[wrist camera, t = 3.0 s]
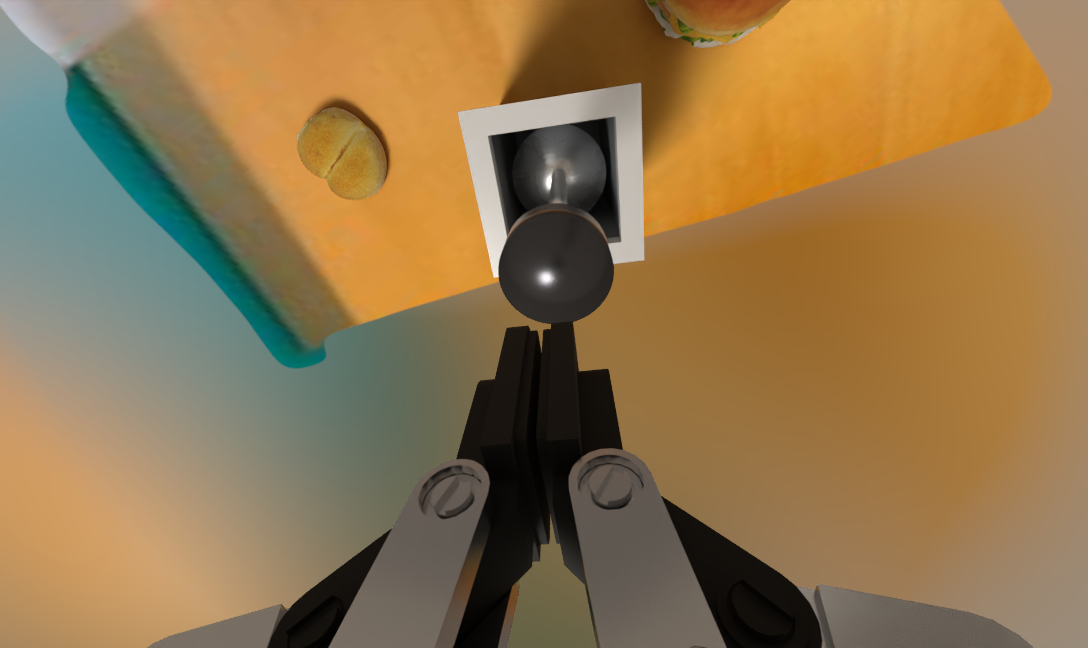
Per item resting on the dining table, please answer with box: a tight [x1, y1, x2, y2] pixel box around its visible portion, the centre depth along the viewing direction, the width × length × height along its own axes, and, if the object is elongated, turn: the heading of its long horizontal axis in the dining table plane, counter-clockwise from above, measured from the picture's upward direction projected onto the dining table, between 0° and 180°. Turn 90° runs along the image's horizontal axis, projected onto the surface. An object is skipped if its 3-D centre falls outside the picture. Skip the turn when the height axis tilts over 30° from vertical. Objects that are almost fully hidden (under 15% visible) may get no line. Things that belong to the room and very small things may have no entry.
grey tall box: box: [458, 83, 644, 277], centre depth 35 cm, size 11×11×18 cm
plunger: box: [498, 124, 614, 324], centre depth 24 cm, size 8×8×21 cm
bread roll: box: [297, 107, 387, 200], centre depth 43 cm, size 8×9×4 cm
